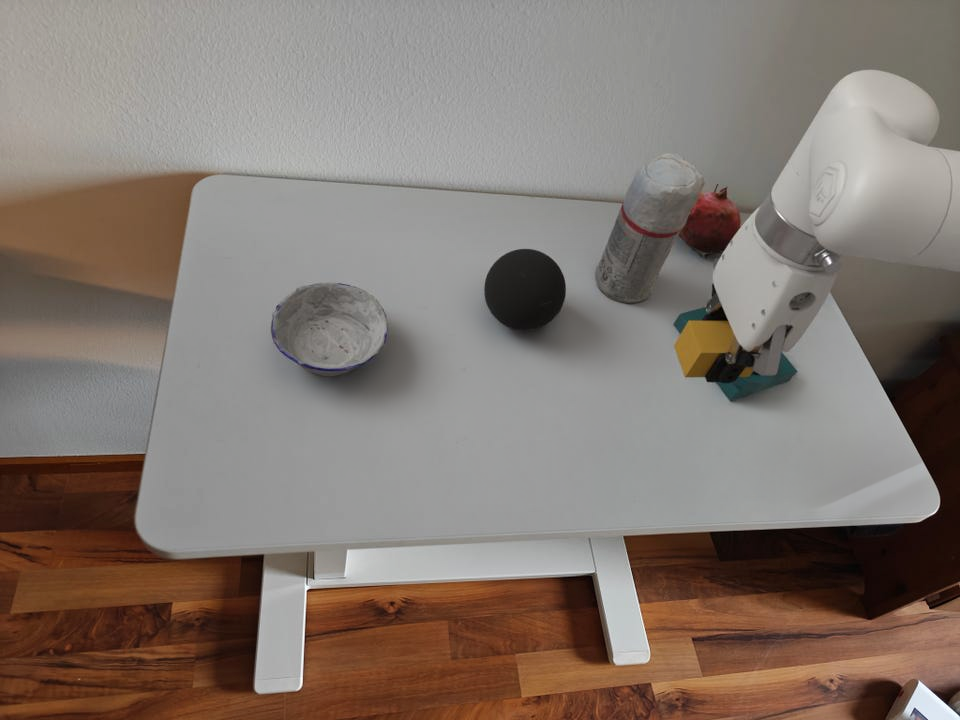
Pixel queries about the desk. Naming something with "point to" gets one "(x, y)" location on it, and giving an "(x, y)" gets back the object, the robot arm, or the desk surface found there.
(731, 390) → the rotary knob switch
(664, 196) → the spray can
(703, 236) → the fruit
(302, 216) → the desk surface
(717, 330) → the sponge
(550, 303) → the speaker
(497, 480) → the desk surface
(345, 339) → the bowl
